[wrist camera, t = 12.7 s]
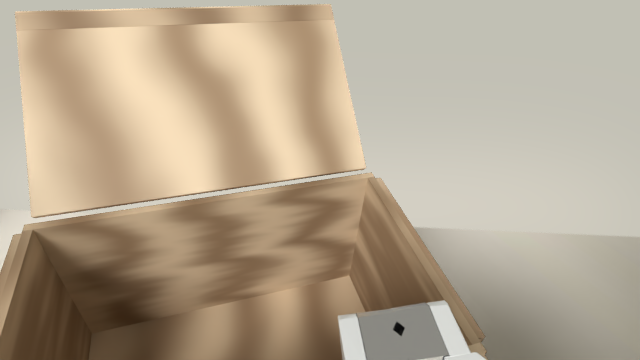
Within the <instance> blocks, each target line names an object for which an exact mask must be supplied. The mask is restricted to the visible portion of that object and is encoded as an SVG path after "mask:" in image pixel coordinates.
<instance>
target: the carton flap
mask: <svg viewBox="0 0 640 360" xmlns="http://www.w3.org/2000/svg"><path fill="white" fill-rule="evenodd" d="M15 18H16V29H17V41H18V55H19V66H20V80H21V93H22V106H23V118H24V132H25V142H26V143H25V144H26V157H27V170H28V183H29V195H30V208H31V217H33V218H39V217H46V216H52V215H59V214H66V213H73V212H79V211H86V210H93V209H100V208H107V207H113V206H120V205H127V204H133V203H139V202H147V201H154V200H160V199H167V198H174V197H181V196H188V195H195V194H201V193H208V192H215V191H222V190H228V189H235V188H241V187H248V186H256V185H262V184H269V183H276V182H283V181H289V180H295V179H303V178H309V177H317V176H323V175H330V174H336V173H344V172H350V171H357V170H364V169H365V168H366V164H365V160H364V155H363V150H362V146H361V141H360V137H359V132H358V127H357V123H356V118H355V114H354V109H353V105H352V100H351V95H350V91H349V86H348V82H347V77H346V72H345V68H344V63H343V59H342V54H341V50H340V45H339V40H338V36H337V31H336V27H335V22H334V17H333V12H332V8H331V4H317V5H276V6H233V7H232V6H231V7H190V8H149V9H148V8H146V9H106V10H105V9H104V10H62V11H20V12H15Z"/></svg>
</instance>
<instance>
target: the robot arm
mask: <svg viewBox="0 0 640 360" xmlns="http://www.w3.org/2000/svg"><path fill="white" fill-rule="evenodd" d="M338 324H339V334H340V343H341V351H342V359H343V360H486V359H485V358H484V357H482V356H481V355H480V354H478V353H477V352H473V353H471V351H470V349H469V347H468V345H467V343H466V341H465V339H464V337H463V335H462V332H461V330H460V328H459V326H458V324H457V322H456V320H455V318H454V316H453V314H452V311H451V309H450V307H449V305H448V303H447V302H446V301H445V300H442V301H435V302H429V303H419V304H413V305H407V306H401V307H395V308H391V309H386V310H377V311H369V312H361V313H353V314H345V315H338Z"/></svg>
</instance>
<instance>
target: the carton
mask: <svg viewBox="0 0 640 360" xmlns="http://www.w3.org/2000/svg"><path fill="white" fill-rule="evenodd" d="M442 300H445V301H446V302H447V303H448V305H449V307H450V309H451V311H452V314H453V316H454V318H455V320H456V322H457V324H458V326H459V328H460V330H461V332H462V335H463V337H464V339H465V341H466V343H467V345H468V347H469V349H470V351H471V353H473V352H477V353H478V354H480V355H481V356H482V357H484V358H485V359H486V360H488V359H487V358H486V356H485V354H486V352H487V351H486V349H485V348H484V346H483V345H482V343H481V342H482V340H483V339H484V337H485V335H484V334H483V332H482V331H481V329H480V328H479V326H478V325H477V323H476V322H475V320H474V319H473V317H472V316H471V314H470V313H469V311H468V310H467V308H466V307H465V305H464V303H463V302H462V300H461V299H460V297H459V296H458V294H457V293H456V291H455V290H454V288H453V287H452V285H451V284H450V282H449V281H448V279H447V278H446V276H445V275H444V273H443V272H442V270H441V269H440V267H439V266H438V264H437V263H436V261H435V260H434V258H433V256H432V255H431V253H430V252H429V250H428V249H427V247H426V246H425V244H424V243H423V241H422V240H421V238H420V237H419V235H418V234H417V232H416V231H415V229H414V228H413V226H412V225H411V223H410V222H409V220H408V219H407V217H406V216H405V214H404V213H403V211H402V209H401V208H400V206H399V205H398V203H397V202H396V200H395V199H394V197H393V196H392V194H391V193H390V191H389V190H388V188H387V187H386V185H385V184H384V182H383V181H382V179H381V178H375V177H374V176H373V174H372V173H365V174H359V175H352V176H345V177H339V178H332V179H325V180H319V181H312V182H305V183H299V184H292V185H285V186H279V187H272V188H265V189H259V190H252V191H246V192H239V193H232V194H226V195H219V196H213V197H206V198H200V199H193V200H186V201H179V202H173V203H167V204H160V205H153V206H147V207H139V208H133V209H126V210H120V211H113V212H106V213H100V214H93V215H86V216H80V217H73V218H66V219H60V220H53V221H47V222H40V223H33V224H27V225H24V228H23V231H22V234H16V235H13V237H12V240H11V243H10V246H9V249H8V252H7V255H6V258H5V261H4V264H3V267H2V269H1V272H0V360H343V359H342V351H341V343H340V334H339V324H338V315H345V314H353V313H361V312H369V311H377V310H386V309H391V308H395V307H401V306H407V305H413V304H419V303H429V302H435V301H442Z"/></svg>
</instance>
